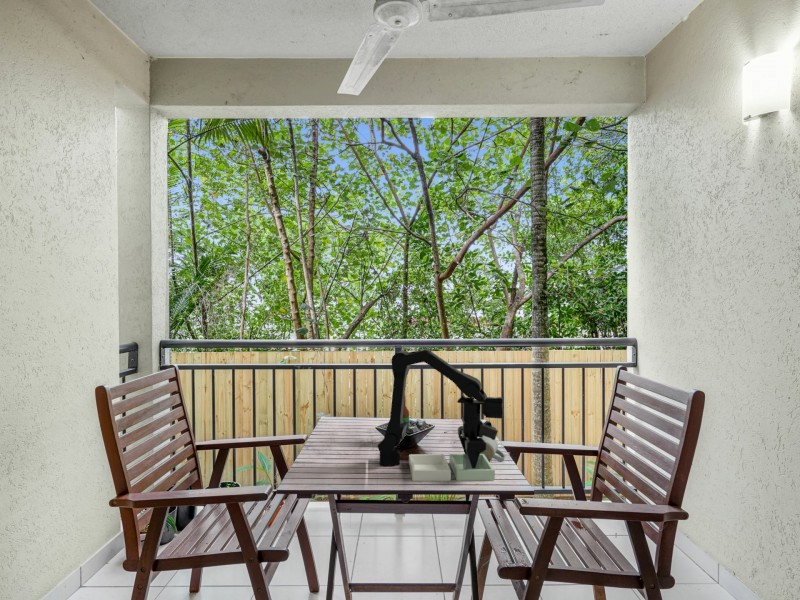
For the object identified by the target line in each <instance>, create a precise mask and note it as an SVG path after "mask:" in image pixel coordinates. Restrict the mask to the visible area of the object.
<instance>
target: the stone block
mask: <svg viewBox="0 0 800 600" xmlns="http://www.w3.org/2000/svg"><path fill="white" fill-rule="evenodd" d="M462 454H463V470H474V469H479V458H478V461H477V465H476V468H472V467H471V464H470V461H469V458H468V455H467V454H465V453H462Z"/></svg>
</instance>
